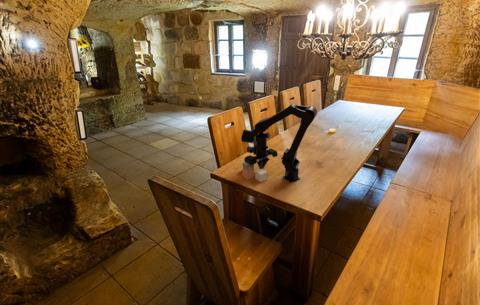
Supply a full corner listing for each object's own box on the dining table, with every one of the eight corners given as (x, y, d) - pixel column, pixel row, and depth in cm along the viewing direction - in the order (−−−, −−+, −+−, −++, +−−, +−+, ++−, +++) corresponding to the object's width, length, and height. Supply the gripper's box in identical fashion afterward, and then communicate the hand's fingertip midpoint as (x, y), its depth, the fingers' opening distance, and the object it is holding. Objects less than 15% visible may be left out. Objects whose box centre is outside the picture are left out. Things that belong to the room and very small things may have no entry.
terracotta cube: (254, 177, 138) (254, 169, 136) (247, 179, 136) (247, 172, 134) (249, 173, 141) (249, 166, 139) (242, 176, 139) (242, 168, 137)
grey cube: (253, 170, 144) (253, 163, 143) (247, 172, 142) (247, 165, 140) (249, 167, 148) (249, 160, 146) (242, 169, 146) (242, 162, 144)
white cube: (267, 179, 135) (267, 172, 133) (260, 182, 133) (260, 174, 131) (262, 176, 139) (262, 168, 137) (255, 178, 136) (255, 171, 135)
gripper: (265, 135, 146) (265, 160, 153) (237, 143, 137) (238, 169, 143) (278, 141, 138) (277, 167, 144) (250, 150, 128) (250, 177, 135)
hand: (261, 170), depth 142 cm, fingers closed
